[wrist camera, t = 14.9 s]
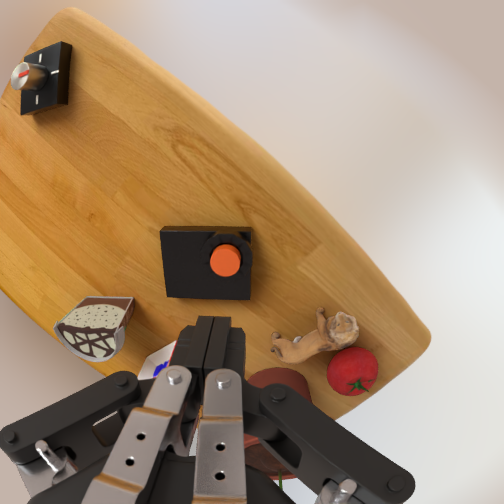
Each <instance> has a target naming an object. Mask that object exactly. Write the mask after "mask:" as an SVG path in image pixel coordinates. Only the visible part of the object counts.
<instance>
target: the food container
mask: <svg viewBox="0 0 504 504" xmlns="http://www.w3.org/2000/svg"><path fill="white" fill-rule="evenodd" d="M133 311H134V297H99V296H86V297H85V298H84V299H83V300H82V301H81V302H80V303H79V304H78V305H76V306H75V307H74V308H73V309H72V310H71V311H70V312H69V313H68V314H67V315H66V316H65V317H64V318H63V319H62V320H61V321H60V322H58V321H56V323H55V325H54V328H53V329H54V332H55V333H56V335H57V337H58V338H59V340H60V341H61V342H62V343H63V344H64V345H65V347H67V348H68V349H69V350H70V351H71V352H73V353H74V354H75V355H77V356H79V357H81V358H83V359H85V360H88V361H93V362H103V361H106V360H108V359H110V358H112V357H113V356H114V355H115V354H117V353H118V352H119V351H120V350H121V348H122V347H123V344H124V340H125V332H124V331H125V329H126V327H127V324H128V322H129V320H130V318H131V316H132V313H133Z"/></svg>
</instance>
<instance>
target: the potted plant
mask: <svg viewBox="0 0 504 504" xmlns="http://www.w3.org/2000/svg"><path fill="white" fill-rule="evenodd" d="M247 382H248V383H250V384H251V385H253V386H256V387H259V388H264V387H265V386H267V385H269V384H273V383H282V384H286V385H288V386H290V387H292V388H293V389H294V390H295V391H297V392H298V393H299V394H300V395H302V396H303V397H304V398H306V399H307V400H308V401H309V402H311V403H312V400H311V396H310V392H309V388H308V385H307V381H306V380H305V378H304V377H303V375H301V374H300V373H298V372H297V371H294V370H291V369H288V368H270V369H265V370H262V371H260V372H257V373H256V374H254V375H253V376H251V377H250V378H249V380H248V381H247ZM244 454H245V464H247V465H250V466H253V467H255V468H257V469H259V470H260V471H262V472H264V473H265V474H266V475H267V476H269V477H270V478H271V479H272V480H279V487H280V488H281V489H282V480H285V479H293V478H297V477H296V476H295V475H294V474H293V473H291V472H290V471H289V470H288V469H287V468H286V467H285V466H284V465H283V464H282V463H281V462H280V461H279V460H277V459H276V458H275V457H274V456H273V455H272V454H271V453H270V452H269V451H268V450H267V449H266V448H265V447H264V446H263V445H262V444H261V443H260V442H259V440H258V437H254V436H251V435H248V434H244ZM282 490H283V489H282Z"/></svg>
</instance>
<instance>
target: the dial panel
mask: <svg viewBox="0 0 504 504" xmlns="http://www.w3.org/2000/svg"><path fill="white" fill-rule="evenodd" d="M71 49H72V45H70V44H68V43H65V42H62V41H61V42H58V43H56V44H53V45H51V46H48V47H46V48H43V49H41V50H39V51H36V52H34V53H32V54H30V55H28V56H25V57H24V62H26V63H31V64H36V65H42V66H45V67H46V68H47V70H48V78H47V81H46V83H45V85H44V86H43V87H42V88H41V89H40V90H38V91H27V90H21V115H34V114H37V113H40V112H43V111H47V110H50V109H54V108H57V107H61V106H65V105H68V87H69V71H70V59H71Z"/></svg>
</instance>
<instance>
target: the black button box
mask: <svg viewBox="0 0 504 504" xmlns="http://www.w3.org/2000/svg"><path fill="white" fill-rule="evenodd" d="M160 240H161V250H162V260H163V269H164V277H165V285H166V293H167V297H173V298H194V299H220V300H250V297H251V267H252V262H253V248H252V246H251V227H227V226H164V227H163V228H162V229H161V230H160ZM223 244H229V245H232V246H234V247H235V248H237V249H238V251H239V253H240V255H241V261H240V267H239V269H238V271H237V272H236V273H235V274H233V275H231V276H226V277H225V276H220V275H218V274H216V273H215V272H214V271H213V269H212V268H211V265H210V260H211V257H212V254H213V252H214V250H215V249H216V248H217V247H218V246H220V245H223Z"/></svg>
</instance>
